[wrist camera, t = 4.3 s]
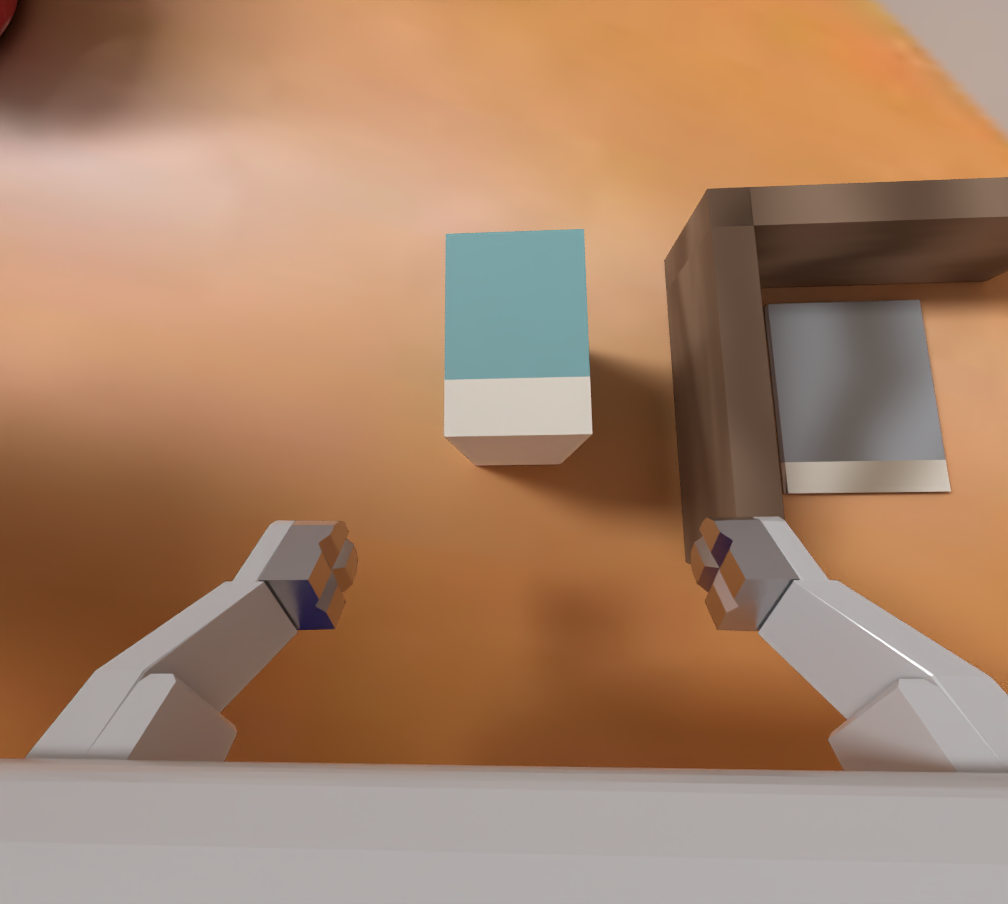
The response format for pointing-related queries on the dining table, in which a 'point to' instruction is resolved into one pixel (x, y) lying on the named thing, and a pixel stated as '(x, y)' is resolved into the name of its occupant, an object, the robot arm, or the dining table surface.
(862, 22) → the dining table surface
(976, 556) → the dining table surface
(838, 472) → the corner arena
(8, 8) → the plant pot
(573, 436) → the teal block
